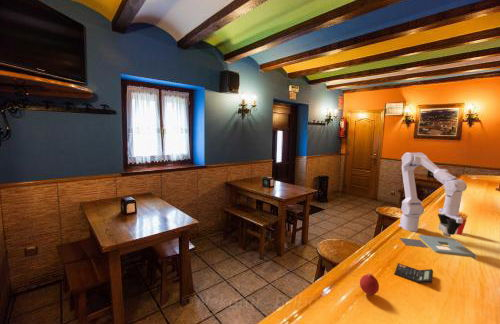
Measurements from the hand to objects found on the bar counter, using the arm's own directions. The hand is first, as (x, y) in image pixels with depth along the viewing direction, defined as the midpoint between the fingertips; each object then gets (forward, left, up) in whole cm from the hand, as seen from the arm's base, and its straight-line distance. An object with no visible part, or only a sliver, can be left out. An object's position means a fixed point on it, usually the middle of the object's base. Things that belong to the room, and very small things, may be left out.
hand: (447, 231), depth 116 cm
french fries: (-22, +17, -9) cm, 29 cm away
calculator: (+28, -26, -9) cm, 39 cm away
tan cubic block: (0, 0, -2) cm, 2 cm away
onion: (+44, -47, -9) cm, 65 cm away
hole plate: (0, 0, -8) cm, 8 cm away
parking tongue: (0, -14, -8) cm, 16 cm away
